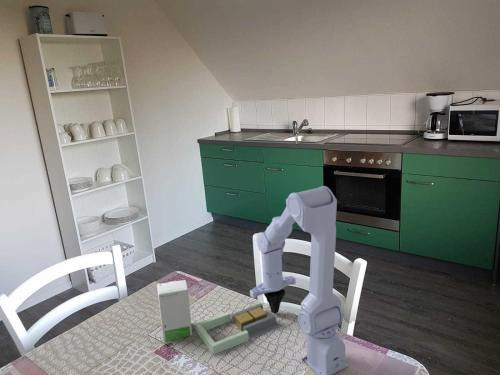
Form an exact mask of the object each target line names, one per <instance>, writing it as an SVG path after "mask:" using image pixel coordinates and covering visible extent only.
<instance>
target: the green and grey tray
mask: <svg viewBox="0 0 500 375" xmlns="http://www.w3.org/2000/svg"><path fill="white" fill-rule="evenodd" d="M263 306H264V305H263V304H262V303H258V304H256V305H252V306H251V307H248V308H245V309H242V310H239V311H237V312H234V313H232V314H231V312H229V311H226V312H224V313H221V314H219V315H216V316H213V317H211V318H207V319H205V320H202V321H200V322H197V323H195V324H194V325H195V332H196V333H197V335H198V336H199V338H200V339H201V340H202V341H203V343H204V345H206V347H207V348H208V350H209V351H210V352H211V354H212V355H217V354H219V353H221V352H223V351H225V350H228V349H231V348H233V347H235V346H238V345H240V344H243V343H245V342H247V341H250V340H253V339H255V338H257V337H260V336H263V335H264V334H267V333H269V332H272V331H274V330H277V329H280V326H279V325H278V324H277V317H276V315H275V314H271V315H267V317H266V318H263V319H261V320H258V321H256V322H253V323H251V324H248V325H245V326H243V331H242V332H241V331H239V332H238V333H235V334H233V335H230V336H227V337H225V338H223V339H220V340H218V341H215V340H214V339H213V338H212V337H211V335H210V334H209V333H208V331H209V330H210V329H214V328H216V327H219V326H222V325H224V324H227V323H229V322H231V323H232V324H233V325H234V326H235V317H234V316H237V315H240V314H242V313H245V312H247V313H248V311H250V310H253V309H256V308H258V307H261V308H262V309H263V310H264V307H263Z"/></svg>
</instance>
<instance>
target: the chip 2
mask: <svg viewBox="0 0 500 375" xmlns="http://www.w3.org/2000/svg"><path fill="white" fill-rule="evenodd" d="M248 314H249V315H251V316H252V317H253V318H254V322H256V321H258V320H261V319H263V318H266V317H267V316H268V313H267V311H265V310H264V308H263V309H262V308H261V307H258V308H256V309H253V310H250V311H248Z"/></svg>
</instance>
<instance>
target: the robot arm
mask: <svg viewBox="0 0 500 375" xmlns="http://www.w3.org/2000/svg"><path fill="white" fill-rule="evenodd" d="M285 204H286V206H285V208H284V210H283V212H282V214H281V215H280V216H274V217H272V219H271V220H272V221H271V222H270V223H269V225H268V226H267V227H266V230H264V231H262V232H261V231H260V232H258V233H257V235H256V244H257V249H258V250H259V252H260V254H261V267H262V268H261V270H262V282H261V283H260V284H259V285H257V286H255V287H253V288H251V289H250V290H249V295H250V298H252V299H257V298H258V297H259V296H262V295H264V297H265V299H266V301H267V303H268V305H269V309H270V312H271V313H273V315H276V314H278V313H279V311H280V306H281V304H282V301H283V299H284V297H285V295H286V290H285V289H284V288H285V287H288V286H289V285H296V283H297V282H296V277H295V276H293V275H290V276H284V274H283V260H282V259H283V258H282V255H283V254H284V248H285V246H286V239H287V238H288V237H289V236H290V235H291V233H292V232H293V225H294V224H295V222H296V223H297V225H298V226H299V228H301V229H302V231H303V232H304V233H305V232H306V233H308V234H310V237H311V240H310V241H311V242H310V264H309V265H310V267H309V289H308V290H309V292H308V294H307V295H306V296H305V297H304V299H303V300H302V301H301V302H300V309H299V311H298V315H297V321H298V323H299V327H300V329H301V330H302V331H303V333H304V334H305V335H306V336H305V339H306V356H305V357H303V358H301V360H302V361H303V362H304V363H305V364H306V365H307V366H309V368H311V369H312V370H313V371H314V373H316V374H317V375H334V374H336V373H337V372H340V371H342V370H344V369H345V368H347V367H349V364H348V363H347V362H346V345H345V343H344V341H343V340H342V339H341V338H340V337H339V335H338V333H337V330H338V329H339V324H341V323H342V322H343V321H344V320H343V318H344V313H343V312H344V311H343V309H342V300H341V299H340V298H339V296H338V295H336V294H335V293H334V289H333V288H334V273H335V272H334V271H335V259H336V258H335V256H336V242H337V240H336V239H337V226H336V222H337V221H336V220H337V205H338V200H337V198H336V196H335V195H334V194H333V192H332V190H331V189H330V188H329V187H328V186H325V185H323V186H318V187H316V188H312V189H307V190H304V191H298V192H292V193H290V194H289V195H288V197H287V198H286V199H285Z"/></svg>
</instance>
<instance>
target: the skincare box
mask: <svg viewBox="0 0 500 375" xmlns="http://www.w3.org/2000/svg"><path fill="white" fill-rule="evenodd" d="M156 290H157V299H158V307H159V316H160V323H161V324H160V325H161V333H162V339H163V345H169V344H172V343H173V342H172V341H173V340H178V339H182V338H186V337H189V336H190V337H191V336H193V330H192V329H193V328H192V327H193V326H192V319H191V311H190V310H191V308H190V299H189V289H188V284H187V280H186V279H184V280H175V281H168V282H164V283H157V284H156Z"/></svg>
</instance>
